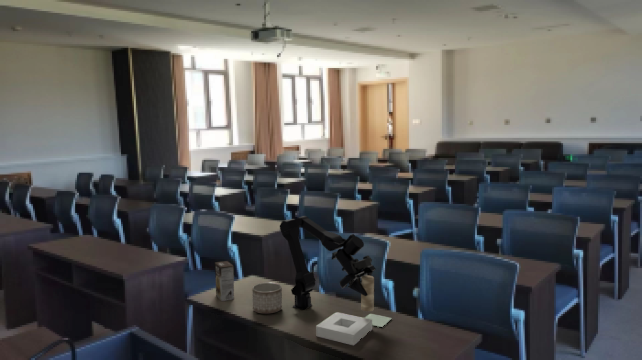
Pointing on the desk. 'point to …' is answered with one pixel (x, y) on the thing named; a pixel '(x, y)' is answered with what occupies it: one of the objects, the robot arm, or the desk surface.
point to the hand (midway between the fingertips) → (370, 293)
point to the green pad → (378, 320)
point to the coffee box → (224, 280)
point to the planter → (267, 297)
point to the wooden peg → (368, 300)
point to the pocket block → (344, 328)
